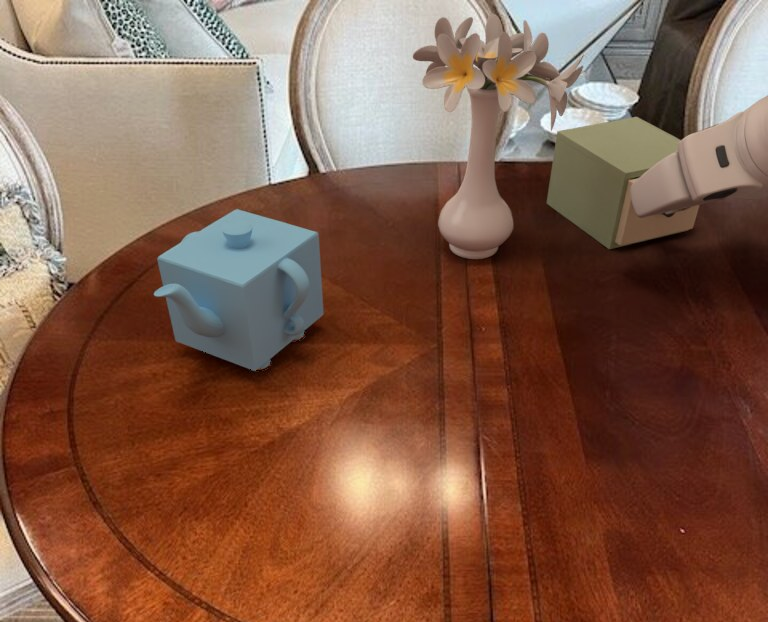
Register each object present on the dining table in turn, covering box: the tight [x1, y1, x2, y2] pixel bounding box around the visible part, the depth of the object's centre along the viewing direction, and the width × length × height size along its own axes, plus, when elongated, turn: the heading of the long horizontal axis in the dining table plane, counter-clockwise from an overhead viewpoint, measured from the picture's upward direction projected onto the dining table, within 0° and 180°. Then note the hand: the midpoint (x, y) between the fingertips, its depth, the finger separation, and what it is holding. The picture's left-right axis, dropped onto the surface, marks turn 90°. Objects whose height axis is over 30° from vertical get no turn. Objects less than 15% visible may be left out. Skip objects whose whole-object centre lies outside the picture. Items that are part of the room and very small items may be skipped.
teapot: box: [153, 208, 325, 372], centre depth 78 cm, size 18×16×13 cm
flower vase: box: [412, 13, 585, 260], centre depth 90 cm, size 13×18×25 cm
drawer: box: [615, 178, 700, 247], centre depth 100 cm, size 15×11×8 cm
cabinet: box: [546, 116, 689, 250], centre depth 102 cm, size 15×13×10 cm
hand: (673, 206), depth 95 cm, fingers closed, pressing on drawer
